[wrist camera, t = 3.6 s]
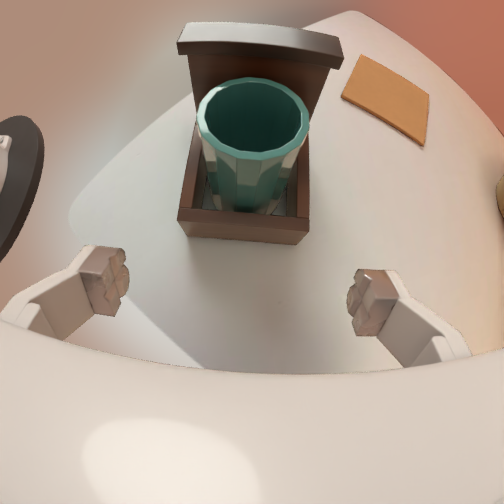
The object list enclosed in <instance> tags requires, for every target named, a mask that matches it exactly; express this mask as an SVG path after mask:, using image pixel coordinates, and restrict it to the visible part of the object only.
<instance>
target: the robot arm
mask: <svg viewBox="0 0 504 504" xmlns="http://www.w3.org/2000/svg"><path fill="white" fill-rule="evenodd" d="M11 142H12V138H11V137H9V136H6V135H0V193H1V191H2V188H3V185H4V182H5V178H6V174H7V168H8V152H9V149H10V146H11ZM125 260H126V256H125V252H124V250H123V249H122V248H113V247H105V246H96V245H85V246H84V247H83V248H82V249H81V251H80V252H79V253H78V254H77V255H76V257H75V258H74V259H73V260H72V262H71V263H70V264H69V265H68V267H67V268H66V269H65V270H60V271H58V272H56V273H54V274H52V275H51V276H48V277H47V278H45V279H43V280H41V281H39V282H37V283H35V284H34V285H32V286H30V287H28V288H26V289H25V290H23V291H21V292H19V293H18V294H16V295H14V296H13V297H12V298H11V299H10V301H9V302H8V304H7V305H6V306H5V308H4V309H3V311H2V312H1V314H0V504H504V348H501V349H497V350H494V351H490V352H486V353H482V354H478V355H474V356H473V355H472V353H471V351H470V349H469V347H468V345H467V343H466V341H465V339H464V338H463V336H462V334H461V332H459V331H458V330H457V329H455V328H454V327H453V326H452V325H450V324H449V323H448V322H446V321H445V320H444V319H442V318H441V317H440V316H438V315H437V314H436V313H434V312H433V311H432V310H430V309H429V308H428V307H426V306H425V305H424V304H422V303H421V302H420V301H418V300H417V299H413V298H412V296H411V295H410V293H409V291H408V289H407V288H406V286H405V284H404V283H403V281H402V279H401V278H400V276H399V274H398V273H397V272H396V271H395V270H370V269H358V270H357V271H356V273H355V276H354V280H355V284H354V285H353V286H351V287H350V289H349V291H348V294H347V302H346V303H347V309H348V313H349V314H350V315H351V316H353V317H354V318H353V320H352V325H353V328H354V331H355V334H356V336H377V338H378V339H379V341H380V342H381V343H382V344H383V345H384V346H385V347H386V348H387V349H388V350H389V351H390V353H391V354H392V355H393V356H394V357H395V358H396V359H397V360H398V361H399V363H400V364H401V365H402V366H403V367H404V368H400V369H391V370H381V371H370V372H357V373H339V374H262V373H244V372H230V371H219V370H208V369H199V368H191V367H184V366H176V365H170V364H163V363H157V362H151V361H145V360H139V359H135V358H129V357H125V356H120V355H115V354H111V353H106V352H102V351H98V350H94V349H90V348H86V347H83V346H79V345H75V344H72V343H68V342H65V341H63V340H64V339H65V338H67V337H68V336H69V335H70V334H71V333H73V332H74V331H75V330H76V329H77V328H78V327H80V326H81V325H82V324H83V323H85V322H86V321H87V320H88V319H90V318H91V317H92V316H93V315H94V314H100V315H107V316H113V317H115V315H116V313H117V311H118V309H119V306H120V305H121V301H120V298H121V297H123V296H124V295H125V294H126V292H127V290H128V287H129V271H128V269H127V267H126V266H125V265H124V264H123V263H124V262H125Z"/></svg>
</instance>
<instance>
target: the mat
mask: <svg viewBox="0 0 504 504" xmlns="http://www.w3.org/2000/svg"><path fill="white" fill-rule="evenodd" d="M341 98H343V99H345V100H347V101H349V102H351V103H353V104H355V105H357V106H359V107H360V108H362V109H364V110H366V111H368V112H369V113H371V114H373V115H375V116H376V117H378V118H380V119H381V120H383V121H385V122H386V123H388V124H390V125H391V126H393V127H394V128H396V129H398V130H399V131H401V132H402V133H404V134H405V135H407V136H408V137H410V138H411V139H413V140H414V141H416V142H417V143H419V144H420V145H421V146H423V145H424V142H425V134H426V125H427V115H428V103H429V94H427V93H426V92H425V91H423V90H422V89H420V88H419V87H417V86H416V85H414V84H413V83H411V82H410V81H408V80H406V79H405V78H403V77H402V76H400V75H398V74H397V73H395V72H393V71H392V70H390V69H388V68H386V67H385V66H383V65H381V64H379V63H377V62H376V61H374V60H372V59H370V58H368V57H366V56H364V55H362V54H361V55H360V57H359V59H358V61H357V64H356V66H355V68H354V70H353V72H352V74H351V76H350V78H349V80H348V82H347V84H346V87H345V89H344V91H343V93H342V95H341Z"/></svg>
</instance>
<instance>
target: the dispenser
mask: <svg viewBox="0 0 504 504" xmlns="http://www.w3.org/2000/svg"><path fill="white" fill-rule="evenodd" d="M177 49H178V54H179V55H187V56H188V63H189V69H190V75H191V82H192V88H193V94H194V100H195V106H196V112H198V108H199V104H200V102H201V101H202V99H203V98H204V97H205V96H206V95H207V94H208V92H209V91H210V90H212V89H213V88H215V87H217V86H218V85H220V84H222V83H224V82H226V81H229V80H234V79H239V78H245V77H253V78H263V79H269V80H272V81H274V82H277V83H279V84H282V85H284V86H286V87H288V88H289V89H290V90H291V91H293V92H294V93H295V94H296V95H298V96H299V97H300V98H301V100H302V101H303V103H304V105H305V107H306V108H307V110H308V113H309V122H310V119H311V117H312V114H313V112H314V109H315V107H316V104H317V102H318V99H319V97H320V94H321V91H322V89H323V86H324V84H325V81H326V79H327V76H328V74H329V71H330V68H332V69H337V70H339V69H340V67H341V65H342V62H343V60H344V56H343V52H342V48H341V45H340V41H339V38H338V37H336V36H332V35H328V34H323V33H318V32H313V31H308V30H303V29H296V28H290V27H283V26H275V25H266V24H255V23H239V22H193V23H186V25H185V27H184V29H183V31H182V32H181V35H180V36H179V39H178V40H177ZM205 181H206V169H205V164H204V159H203V154H202V148H201V143H200V138H199V133H198V127H197V122H195V127H194V132H193V136H192V141H191V145H190V150H189V155H188V160H187V165H186V170H185V176H184V181H183V187H182V192H181V198H180V204H179V210H178V216H177V221H178V223H179V224H180V226H181V227H182V229H183V231H184V232H185V234H186V235H187V236H192V237H205V238H217V239H230V240H242V241H254V242H265V243H277V244H288V245H297V244H298V243H299V242H300V241H301V240H302V239H303V237H304V236H305V235H306V234H307V233H308V232H309V137H308V134H307V136H306V139H305V141H304V143H303V146H302V148H301V151H300V153H299V156H298V158H297V161H296V163H295V165H294V168H293V170H292V173H291V175H290V177H289V180H288V186H287V217H286V216H276V215H265V214H254V213H243V212H231V211H218V210H204V209H202V202H203V195H204V188H205Z"/></svg>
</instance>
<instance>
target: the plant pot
mask: <svg viewBox="0 0 504 504" xmlns="http://www.w3.org/2000/svg"><path fill="white" fill-rule="evenodd" d="M496 197H497V202H498V206H499V209H500V211H501V214H502V216H503V218H504V175H503V177H502V179H501V180H500V182H499V183H498V185H497V188H496Z"/></svg>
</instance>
